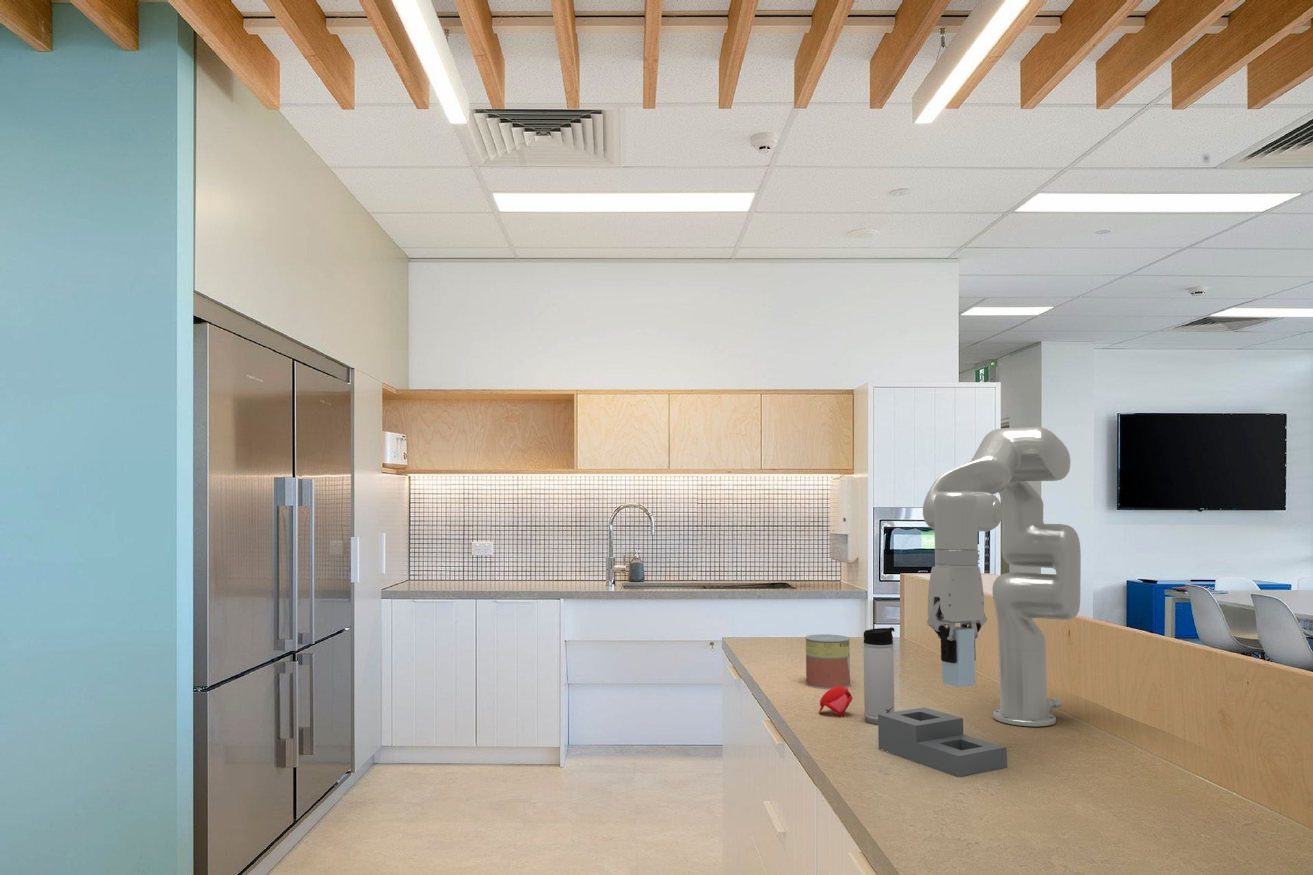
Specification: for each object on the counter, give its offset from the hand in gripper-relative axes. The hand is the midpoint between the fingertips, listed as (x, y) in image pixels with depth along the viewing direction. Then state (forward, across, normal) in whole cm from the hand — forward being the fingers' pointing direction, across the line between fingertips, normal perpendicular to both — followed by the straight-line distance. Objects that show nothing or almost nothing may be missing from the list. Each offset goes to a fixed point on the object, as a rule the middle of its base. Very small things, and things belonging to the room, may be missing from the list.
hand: (958, 660), depth 164 cm
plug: (+4, 0, 0) cm, 4 cm away
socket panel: (+19, -1, -5) cm, 19 cm away
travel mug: (+18, -10, -31) cm, 38 cm away
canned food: (+18, -25, -67) cm, 74 cm away
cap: (+18, -6, -41) cm, 46 cm away
